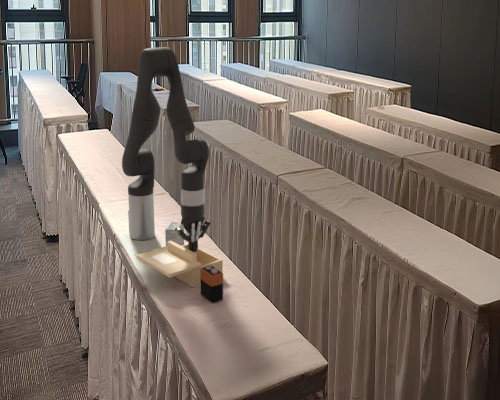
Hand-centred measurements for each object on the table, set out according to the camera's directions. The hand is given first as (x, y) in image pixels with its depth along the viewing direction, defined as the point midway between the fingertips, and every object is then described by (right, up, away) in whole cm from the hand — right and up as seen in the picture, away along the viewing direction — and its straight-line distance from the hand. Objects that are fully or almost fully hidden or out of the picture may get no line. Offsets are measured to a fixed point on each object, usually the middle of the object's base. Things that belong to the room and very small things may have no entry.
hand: (193, 251), depth 207 cm
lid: (-7, -3, -6) cm, 10 cm away
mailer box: (-1, -7, +2) cm, 8 cm away
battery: (+7, -13, -14) cm, 21 cm away
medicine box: (-8, -1, +21) cm, 22 cm away
